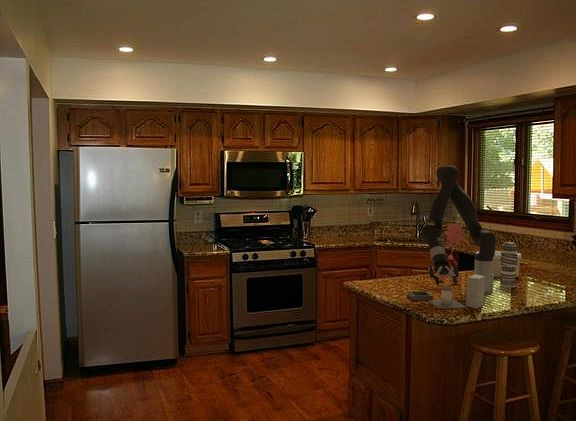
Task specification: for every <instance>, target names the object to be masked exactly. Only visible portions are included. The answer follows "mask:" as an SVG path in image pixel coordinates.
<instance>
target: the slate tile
mask: <svg viewBox="0 0 576 421" xmlns="http://www.w3.org/2000/svg"><path fill="white" fill-rule="evenodd" d="M427 302H428V303H429V304H431V305H432V306H433V307H435V308H436V309H437V310H440V309H443V310H446V309H449V310H450V309H467V306H466V305H464V304H463V303H461V302H459V301H458V300H456V299H452V304H451V305H445V304H442V303H441V299H433V300H428V301H427Z"/></svg>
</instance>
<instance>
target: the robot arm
mask: <svg viewBox="0 0 576 421" xmlns="http://www.w3.org/2000/svg"><path fill="white" fill-rule="evenodd" d="M459 174H460V172H459V169H458V168H456V167H455V166H454V165H453V166H452V165H440V166H439V167H438V168H437V170H436V178H437V180H438V181H439V183H440V184H441V186H440V187H441V188H440V190H439V192H438V194H437V196H436V197H435V199H434V201H433V203H432V205H431V208H430V212H429V215H428V220H431V221H432V222H433V225H432V224H428V223H427V224H424V225H422V227H421V236H422V238H423V239H424V241H425V242H426V244H427V246H428V248H429V249H428V250H429V253H430V259H431V261H432V265H433V266H432V265H429V266H428V269H427V270H428V274H429V278H430V279H434V282H435V284H436V285H437V286H440V284H441V281H440V282H439V280H440V277H439V274H440V275H446V276H448V277H449V278H450V279H451V281H453V286H456V285H457V283H458V281H457V279H456V278H458V277H459V276H460V273H459V271H458V268H457V267H456V264H455V265H453V266H451V265H450V262H449V259H447V258H448V256H447V253H446V250H445V248H444V245H443V244H444V243H442V242H443V241H442V240H441V237H442V235H443V218H444V215H445V212H446V208H447V204H448V202H449V199H450V200H451V202H452V203H453V207H455V209H456V211H457V213H458V215H459V216H460V218H461V219H462V221H463V223H464V224H465V226H466V228H467V230H468V232H469V235H470V237H471V239H472V242H473V244H475V245H476V246H477V247H479V251H478V252H479V253H478V254H476V253H475V255H474V273H473V275H474V274H476V275H481V276H485V292H484V294H488V293H494V278H495V277H494V275H493V274H492V269H493V257H494V255H495V251H496V247H497V246H496V244H497V239H496V238H497V237H496V235H495V233H493V232H492V231H489V230H485V229H484V228H483V227H482V225H481V224H480V222H479V218H478V211H477V207H476V205H475V202H473V200H472V199H471V197H470V196H469V195H468V194H467V192H465V191H464V190H463V189H462V187H461V186H460V185H459V183H458V182H457V181H458V178H459V176H460V175H459ZM434 271H435V272H436V273H435V274H434Z"/></svg>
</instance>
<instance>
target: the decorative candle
mask: <svg viewBox="0 0 576 421" xmlns="http://www.w3.org/2000/svg"><path fill="white" fill-rule="evenodd" d="M517 248H518V245H517V244H516V243H515V242H512V241H504V242H503V244H502V249H501V252H502V253H501V255H502V256H501V261H502V262H501V266H502V270H501V273H500V274H501V276H500V277H501V278H499V283H500V284H499V286H501V287H503V288H516V286H517V283H516V282H517V277H515V276H516V267H517V263H516V262H517V261H516V259H518V258H517V257H516V256H518V255H517V253H518V250H517Z"/></svg>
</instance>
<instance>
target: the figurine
mask: <svg viewBox="0 0 576 421" xmlns="http://www.w3.org/2000/svg"><path fill="white" fill-rule="evenodd" d="M444 234H445V236H447V237H446V239H447V241H445V242H443V241H441V242H442V244H448V245H450V246H451V247H452V250H451V253H450V255H448V256H447V259H448V261H449V260H450V261H451V260H452V261H453V262H454V263H455V266H456V267H457V266H458V265H457V264H458V263H457V262H456V261H455V260H454V257H453V252H454V249H455V248H456V246H457V245H458V244H459V243H460V241H462V240H463V241H464V242H465V243H466V244H467V245H468V246H470V247H471V246H472V245H471V244H470V243H469V242H468V240H467V239H466V238H464V237H463V236H464V235H465V233H464V231H463V230H462V225H459V223H455V224H454V223H453V222H450V223H449V226H447V231H445V232H444ZM454 243H455V245H454ZM438 277H439V282H440V283H441V280H442V281H443V280H445V279H447V280H449V278H446V277H447V275H440V274H439V275H438ZM456 279H457V283H458V284H460V285H461V284H462V280H461V279H460V277H459V276H458V278H456ZM463 282H465V283H466V281H463ZM450 285H454V283H453V280H451V283H450Z"/></svg>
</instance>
